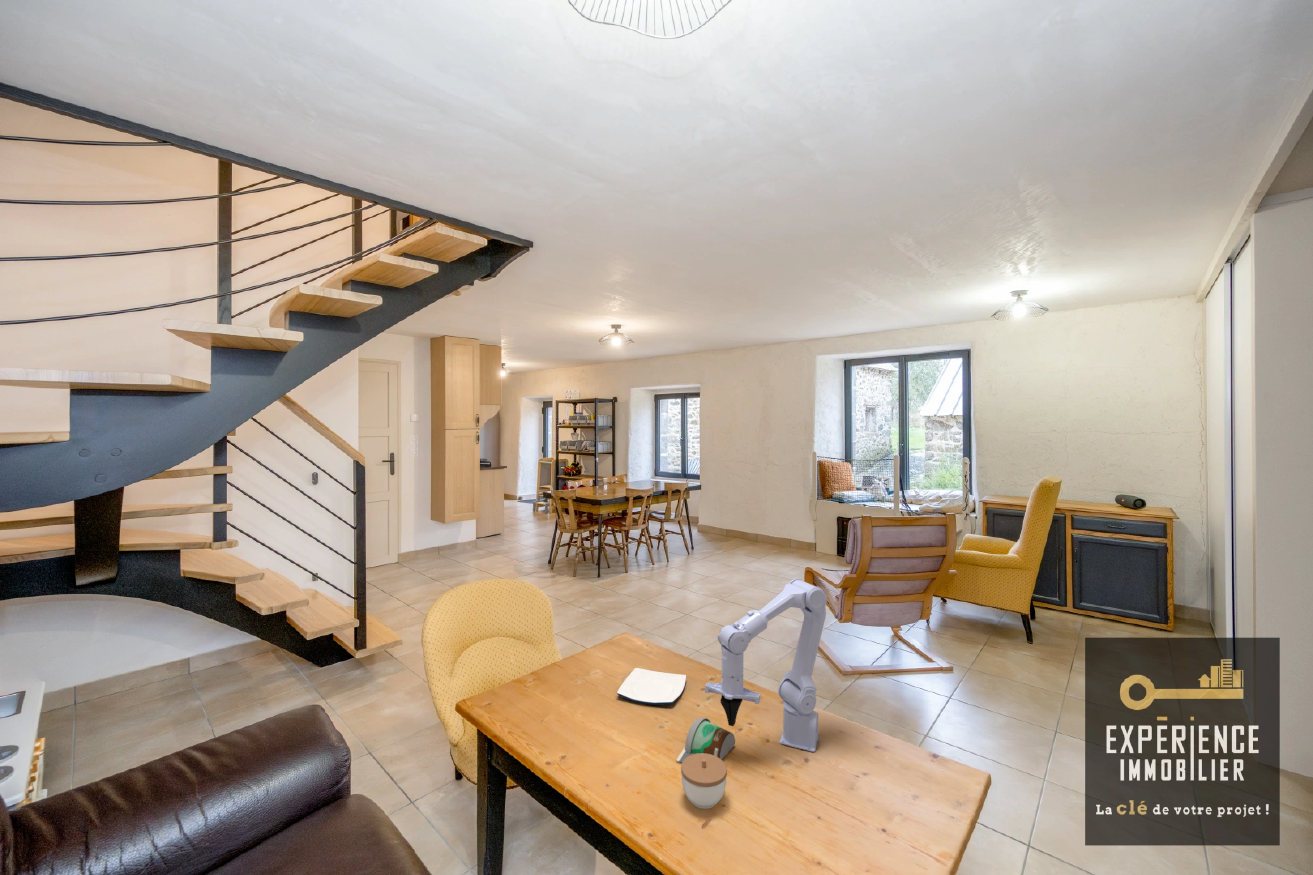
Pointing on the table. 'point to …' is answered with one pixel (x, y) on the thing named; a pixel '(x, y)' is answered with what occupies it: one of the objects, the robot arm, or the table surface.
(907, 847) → the table surface
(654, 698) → the plate
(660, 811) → the table surface
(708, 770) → the lidded jar
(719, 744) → the food container
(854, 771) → the table surface
